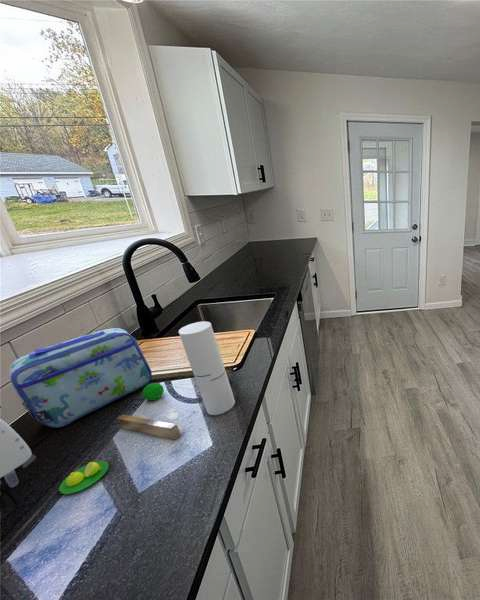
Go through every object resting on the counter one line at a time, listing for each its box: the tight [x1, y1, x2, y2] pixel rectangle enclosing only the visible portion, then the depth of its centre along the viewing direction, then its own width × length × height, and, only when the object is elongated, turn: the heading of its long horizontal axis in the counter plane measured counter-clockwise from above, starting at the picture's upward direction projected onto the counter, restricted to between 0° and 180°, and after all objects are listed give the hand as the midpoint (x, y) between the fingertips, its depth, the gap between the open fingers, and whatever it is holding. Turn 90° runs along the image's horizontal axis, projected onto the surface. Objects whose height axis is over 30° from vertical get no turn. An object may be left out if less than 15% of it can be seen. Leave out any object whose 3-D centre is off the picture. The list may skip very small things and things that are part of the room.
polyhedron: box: [141, 382, 165, 401], centre depth 93 cm, size 5×5×5 cm
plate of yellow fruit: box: [58, 460, 110, 495], centre depth 68 cm, size 8×8×3 cm
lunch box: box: [8, 327, 153, 429], centre depth 89 cm, size 26×11×21 cm, turn 144°
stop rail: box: [116, 413, 182, 440], centre depth 80 cm, size 18×2×4 cm, turn 75°
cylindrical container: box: [178, 321, 236, 416], centre depth 84 cm, size 7×7×25 cm
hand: (13, 505), depth 58 cm, fingers closed
